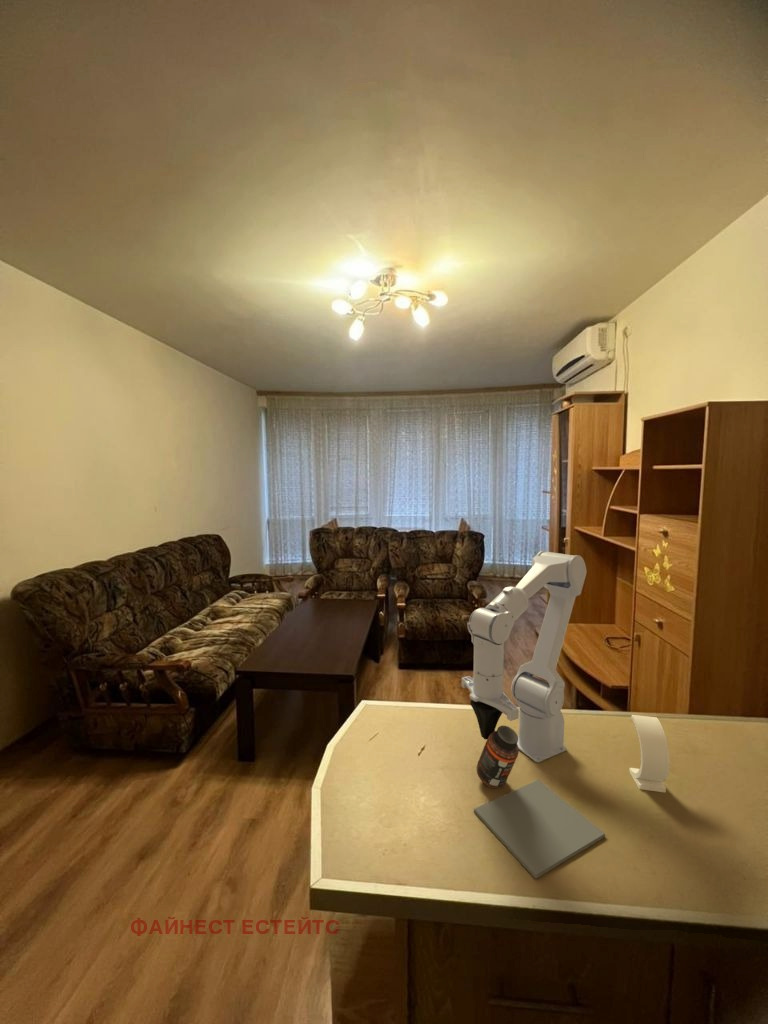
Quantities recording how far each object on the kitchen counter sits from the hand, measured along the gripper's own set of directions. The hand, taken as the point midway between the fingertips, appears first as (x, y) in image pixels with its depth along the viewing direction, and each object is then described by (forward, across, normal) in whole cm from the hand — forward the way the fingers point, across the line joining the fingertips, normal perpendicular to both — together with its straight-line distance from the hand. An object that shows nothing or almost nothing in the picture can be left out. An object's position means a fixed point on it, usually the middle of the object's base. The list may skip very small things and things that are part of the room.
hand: (487, 736), depth 81 cm
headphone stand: (+9, +16, +27) cm, 33 cm away
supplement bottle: (+8, +1, 0) cm, 8 cm away
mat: (+8, +13, 0) cm, 15 cm away
